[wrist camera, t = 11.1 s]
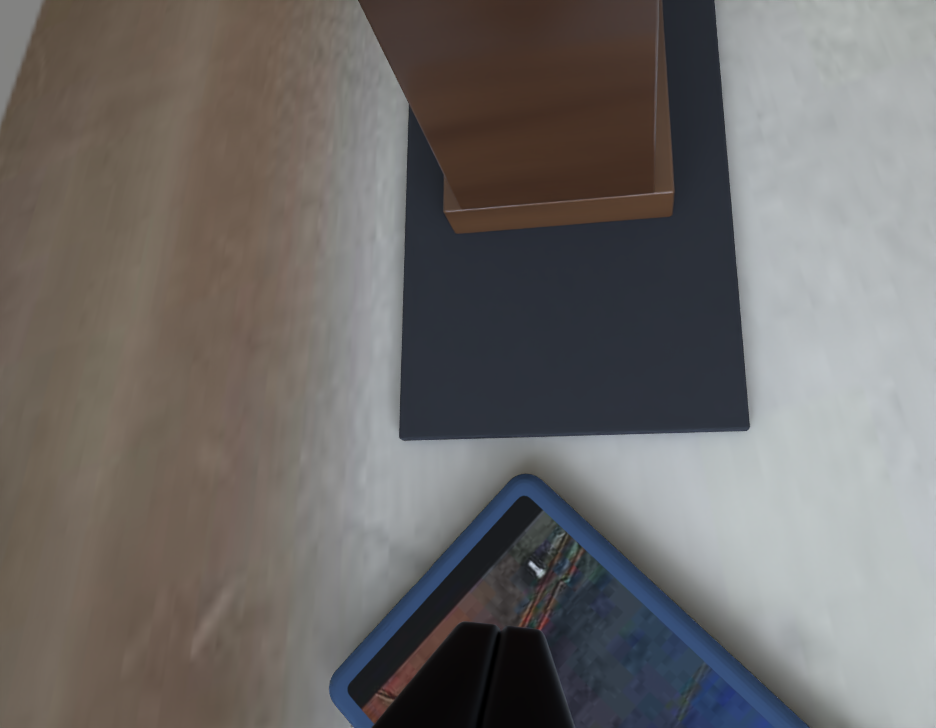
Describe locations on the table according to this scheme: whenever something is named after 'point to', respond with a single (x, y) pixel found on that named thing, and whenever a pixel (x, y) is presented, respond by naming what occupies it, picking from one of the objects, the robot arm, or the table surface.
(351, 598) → the table surface
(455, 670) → the robot arm
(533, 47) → the brown picture frame
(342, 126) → the table surface
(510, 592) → the smartphone
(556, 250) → the word mat
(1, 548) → the table surface
